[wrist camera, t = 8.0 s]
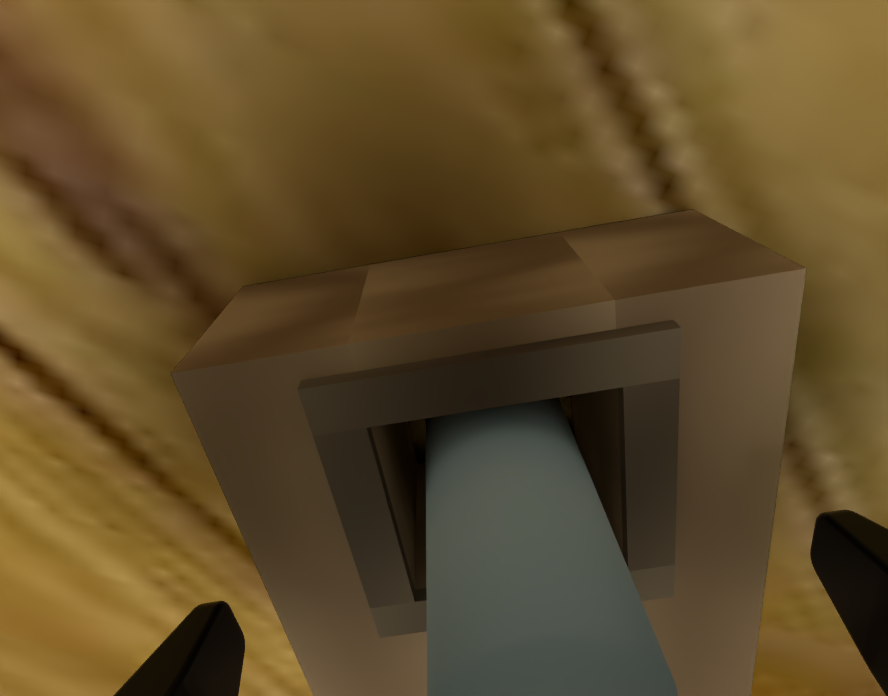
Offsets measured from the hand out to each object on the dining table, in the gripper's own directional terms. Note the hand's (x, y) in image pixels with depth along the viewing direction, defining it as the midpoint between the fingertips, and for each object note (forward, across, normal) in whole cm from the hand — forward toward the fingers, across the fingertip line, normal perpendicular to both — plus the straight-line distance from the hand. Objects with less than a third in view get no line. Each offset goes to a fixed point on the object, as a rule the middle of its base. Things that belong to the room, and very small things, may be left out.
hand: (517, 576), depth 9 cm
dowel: (+6, 0, 0) cm, 6 cm away
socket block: (+6, 0, +4) cm, 7 cm away
